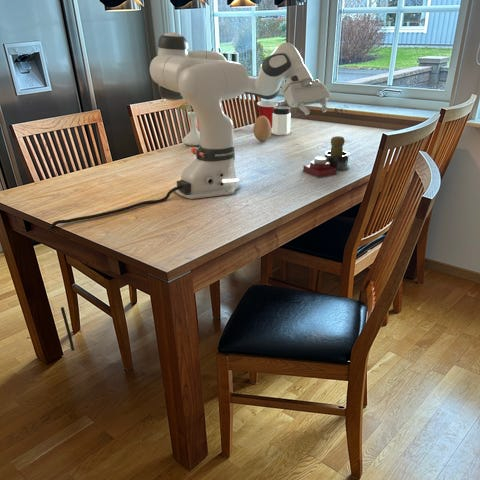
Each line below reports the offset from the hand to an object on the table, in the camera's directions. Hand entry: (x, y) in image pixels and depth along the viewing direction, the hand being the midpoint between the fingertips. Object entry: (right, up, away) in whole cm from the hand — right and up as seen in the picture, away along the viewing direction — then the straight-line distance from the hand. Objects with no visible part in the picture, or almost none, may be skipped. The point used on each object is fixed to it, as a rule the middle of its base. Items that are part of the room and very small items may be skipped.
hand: (316, 112), depth 188 cm
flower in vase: (-52, +1, +37) cm, 63 cm away
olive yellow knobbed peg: (+8, -20, +2) cm, 22 cm away
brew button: (0, -21, -6) cm, 22 cm away
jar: (-9, +13, +54) cm, 56 cm away
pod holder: (+8, -21, +2) cm, 22 cm away
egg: (-19, +4, +40) cm, 45 cm away
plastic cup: (-16, +21, +66) cm, 71 cm away
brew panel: (0, -24, -4) cm, 25 cm away
